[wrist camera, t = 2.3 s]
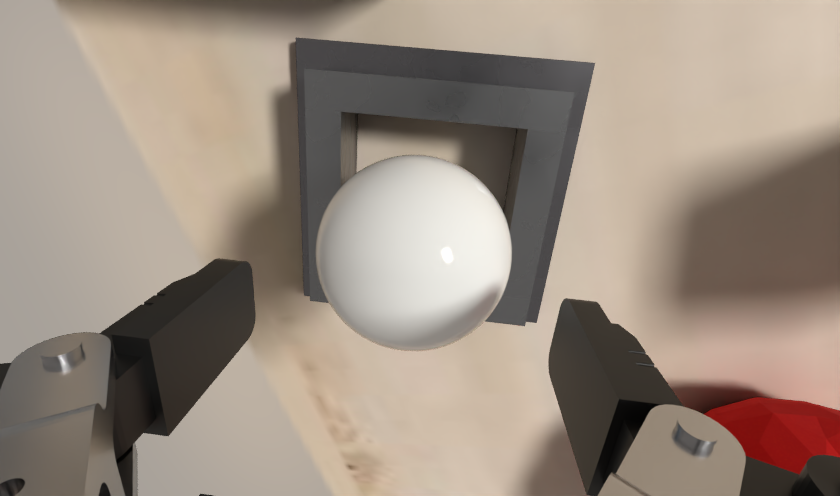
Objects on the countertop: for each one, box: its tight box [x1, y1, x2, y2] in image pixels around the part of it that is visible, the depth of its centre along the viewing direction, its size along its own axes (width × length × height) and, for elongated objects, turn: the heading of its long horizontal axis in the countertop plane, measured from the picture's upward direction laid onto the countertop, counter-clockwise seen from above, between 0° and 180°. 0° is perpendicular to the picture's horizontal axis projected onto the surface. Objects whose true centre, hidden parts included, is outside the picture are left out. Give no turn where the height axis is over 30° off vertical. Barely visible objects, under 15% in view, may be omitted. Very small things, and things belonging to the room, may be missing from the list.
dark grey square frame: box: [296, 38, 595, 326], centre depth 19 cm, size 13×13×3 cm
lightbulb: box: [316, 155, 512, 351], centre depth 16 cm, size 6×6×11 cm
